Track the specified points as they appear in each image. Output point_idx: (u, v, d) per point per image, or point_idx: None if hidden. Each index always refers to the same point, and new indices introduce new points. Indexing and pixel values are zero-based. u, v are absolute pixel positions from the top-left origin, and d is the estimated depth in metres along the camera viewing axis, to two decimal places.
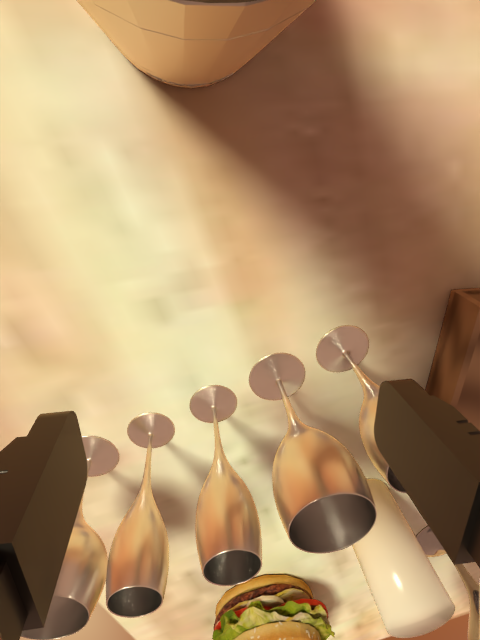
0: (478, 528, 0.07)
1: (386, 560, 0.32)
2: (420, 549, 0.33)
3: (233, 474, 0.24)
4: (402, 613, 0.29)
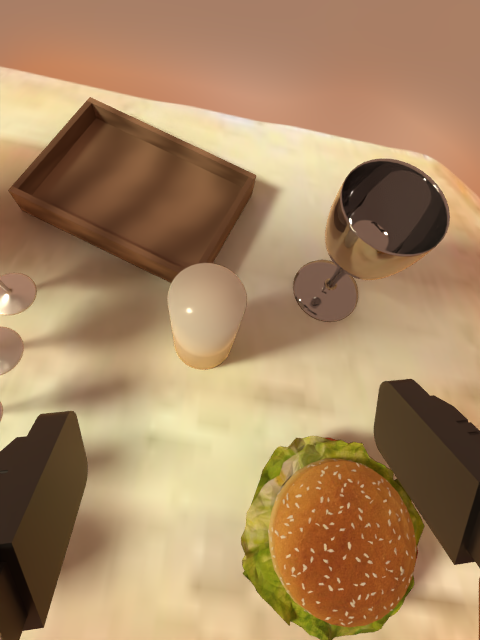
0: (478, 528, 0.07)
1: None
2: None
3: None
4: (179, 310, 0.27)
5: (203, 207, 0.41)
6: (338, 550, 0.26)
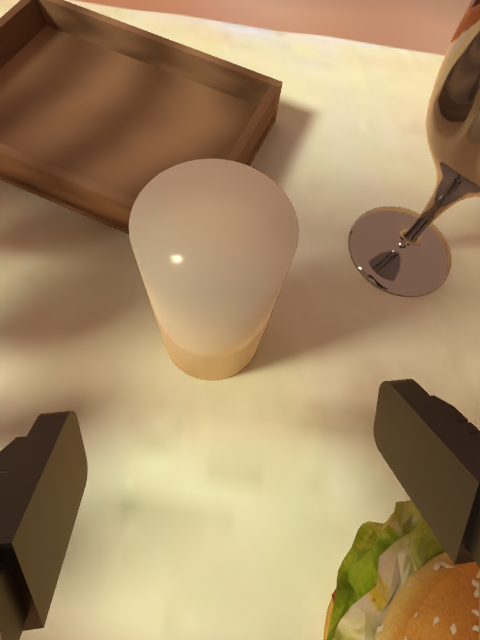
0: (478, 528, 0.07)
1: None
2: None
3: None
4: (154, 250, 0.12)
5: (204, 135, 0.27)
6: None
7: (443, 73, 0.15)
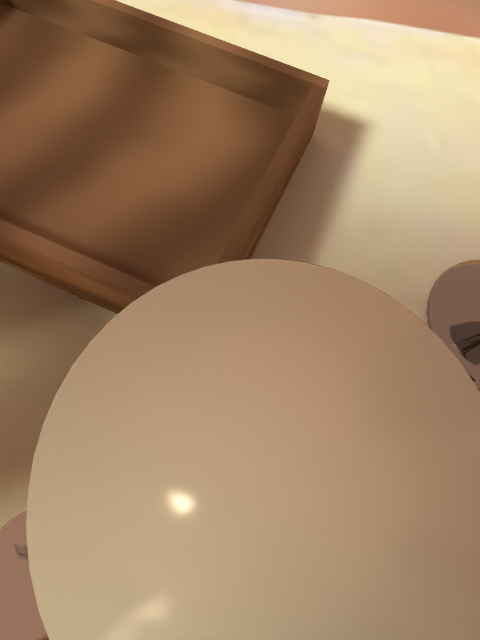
0: None
1: None
2: None
3: None
4: (101, 578, 0.04)
5: (215, 157, 0.19)
6: None
7: None
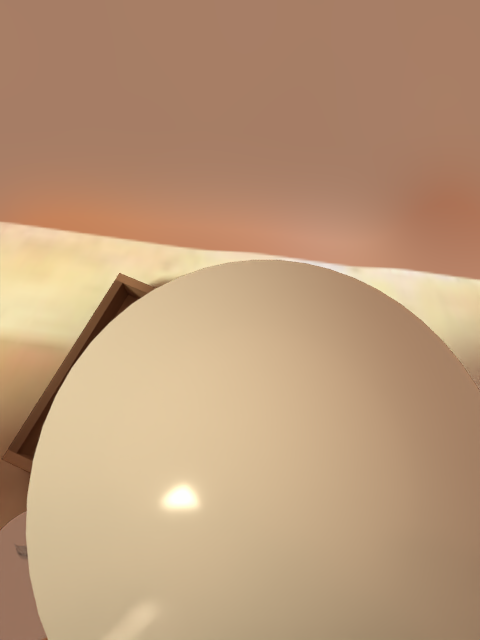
0: None
1: None
2: None
3: None
4: (101, 581, 0.04)
5: None
6: None
7: None
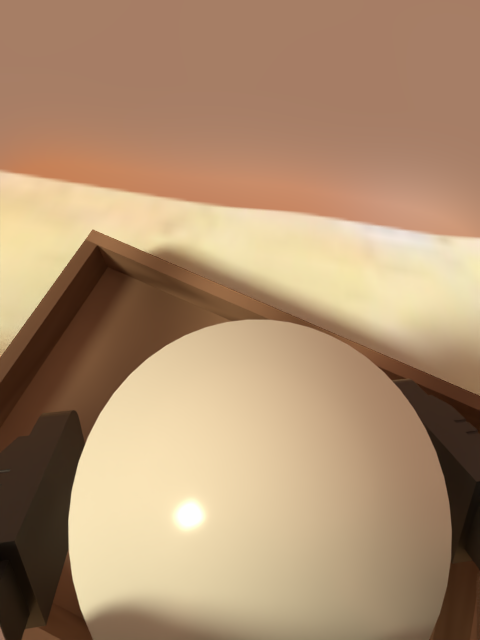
0: (475, 527, 0.07)
1: None
2: None
3: None
4: (127, 584, 0.05)
5: None
6: None
7: None
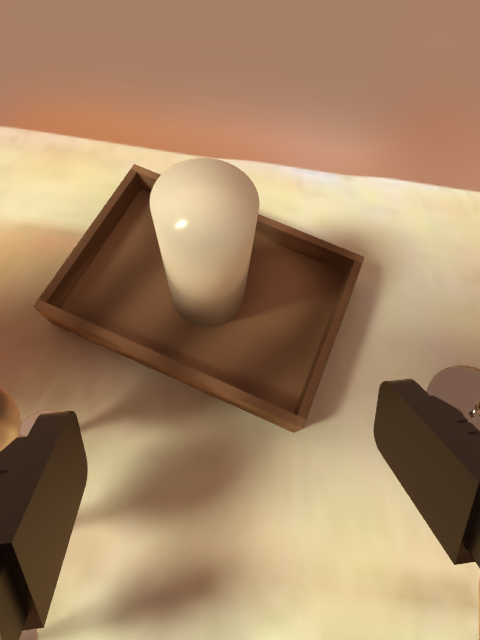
0: (478, 528, 0.07)
1: None
2: None
3: None
4: (166, 216, 0.19)
5: (293, 304, 0.30)
6: None
7: None
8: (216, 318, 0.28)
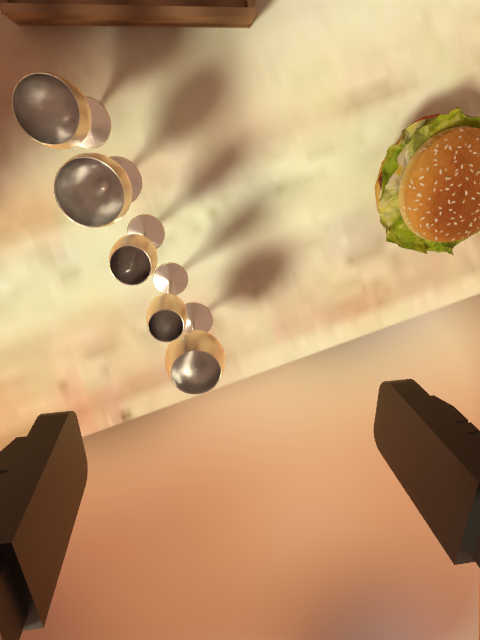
0: (478, 528, 0.07)
1: None
2: None
3: None
4: None
5: None
6: (459, 199, 0.36)
7: None
8: None
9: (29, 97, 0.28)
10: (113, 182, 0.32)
